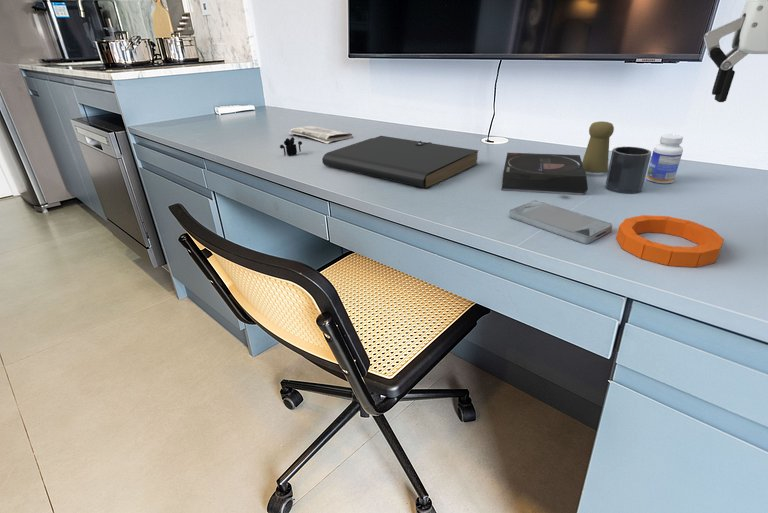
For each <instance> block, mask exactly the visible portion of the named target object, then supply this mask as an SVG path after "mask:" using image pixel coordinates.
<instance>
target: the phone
mask: <svg viewBox="0 0 768 513" xmlns="http://www.w3.org/2000/svg"><path fill="white" fill-rule="evenodd" d="M509 218H510V219H513V220H516V221H518V222H521V223H525V224H527V225H530V226H532V227H536V228H538V229H541V230H543V231H547V232H550V233H552V234H555V235H558V236H561V237H564V238H566V239H568V240H569V239H570V240H572V241H575V242H577V243H581V244H585V245H588V244H591V243H593V242H595V241H596V240H598V239H600V238H602V237H603V236H605V235H608V234H609V233H611V231H612V229H613V223H611V222H609V221H606V220H601V219H600V218H599V219H598V218H595V217H592V216H589V215H587V214H582V213H579V212H575V211H573V210H569V209H567V208H566V209H565V208H562V207H560V206H556V205H553V204H549V203H546V202H543V201H539V200H532V201H529V202H526V203H523V204H521V205H519V206H517V207H513V208H511V209H510V210H509Z"/></svg>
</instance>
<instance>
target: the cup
mask: <svg viewBox="0 0 768 513" xmlns="http://www.w3.org/2000/svg"><path fill="white" fill-rule="evenodd" d="M651 157H652V151H651V150H650V149H647V148H644V147H639V146H617V147H614V148H613V149H612V151H611V154H610V159H609V163H608V170H607V173H606V179H605V186H604V187H605V189H606V190H608V191H611V192H614V193H619V194H638V193H641V192H642V191H643V188H644V184H645V181H646V178H647V173H648V169H649V165H650V161H651Z"/></svg>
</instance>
